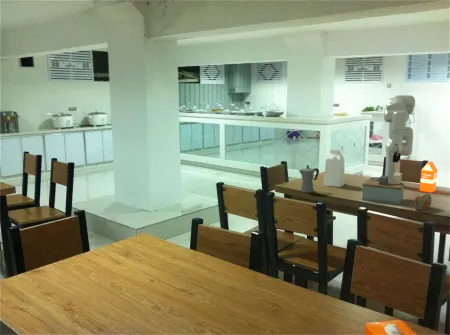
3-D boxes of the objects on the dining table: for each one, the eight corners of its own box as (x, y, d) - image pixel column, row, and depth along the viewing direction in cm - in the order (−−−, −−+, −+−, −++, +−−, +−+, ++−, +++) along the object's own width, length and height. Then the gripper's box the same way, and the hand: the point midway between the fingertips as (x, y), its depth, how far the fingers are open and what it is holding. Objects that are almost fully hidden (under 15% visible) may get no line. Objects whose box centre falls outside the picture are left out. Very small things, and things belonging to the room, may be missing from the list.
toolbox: (368, 193, 280) (369, 178, 278) (403, 197, 269) (404, 182, 267) (362, 199, 265) (362, 184, 263) (399, 204, 254) (400, 188, 252)
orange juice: (435, 190, 288) (438, 161, 284) (431, 192, 282) (434, 163, 278) (423, 188, 293) (426, 160, 289) (419, 190, 287) (421, 162, 283)
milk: (344, 184, 308) (346, 149, 303) (339, 187, 299) (341, 151, 294) (328, 182, 315) (329, 148, 310) (323, 185, 305) (324, 150, 300)
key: (394, 181, 269) (395, 172, 268) (401, 181, 267) (401, 173, 266) (392, 183, 262) (393, 175, 261) (399, 184, 260) (399, 175, 259)
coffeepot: (301, 193, 282) (302, 167, 278) (295, 190, 291) (295, 164, 287) (321, 191, 286) (322, 165, 283) (315, 188, 295) (315, 163, 292)
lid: (367, 181, 275) (367, 173, 274) (404, 185, 263) (404, 176, 262) (362, 185, 263) (362, 177, 262) (400, 190, 252) (401, 180, 251)
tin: (417, 211, 239) (418, 197, 237) (412, 210, 241) (413, 196, 240) (431, 207, 247) (432, 193, 246) (426, 206, 250) (427, 192, 248)
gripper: (394, 130, 261) (392, 158, 264) (389, 133, 246) (387, 163, 250) (407, 131, 257) (405, 159, 260) (402, 133, 242) (400, 164, 246)
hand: (396, 161), depth 255 cm, fingers open, 6 cm apart
